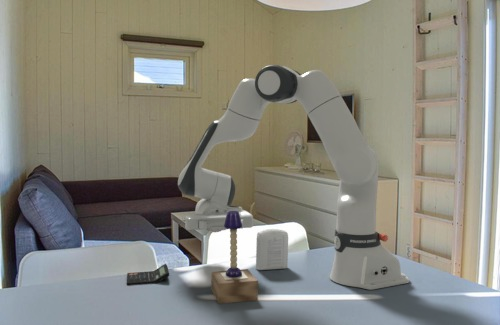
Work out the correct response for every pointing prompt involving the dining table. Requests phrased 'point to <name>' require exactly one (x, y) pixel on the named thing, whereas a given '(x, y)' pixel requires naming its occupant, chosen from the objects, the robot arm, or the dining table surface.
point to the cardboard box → (234, 287)
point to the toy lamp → (233, 241)
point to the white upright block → (272, 249)
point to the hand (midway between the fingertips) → (224, 226)
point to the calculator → (148, 276)
